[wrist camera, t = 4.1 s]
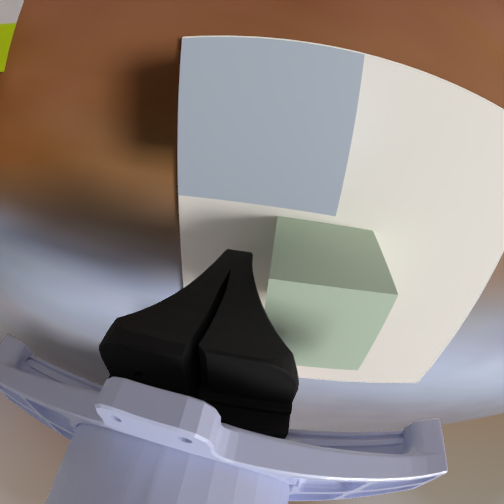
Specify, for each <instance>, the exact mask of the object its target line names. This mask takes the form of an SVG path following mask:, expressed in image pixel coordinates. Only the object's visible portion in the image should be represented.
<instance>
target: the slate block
mask: <svg viewBox="0 0 504 504" xmlns="http://www.w3.org/2000/svg"><path fill="white" fill-rule="evenodd" d="M363 63H364V54H360V53H356V52H351V51H347V50H342V49H337V48H332V47H327V46H321V45H315V44H309V43H302V42H294V41H286V40H276V39H264V38H247V37H194V38H182V46H181V60H180V76H179V99H178V195H182V196H192V197H201V198H210V199H218V200H226V201H234V202H242V203H250V204H257V205H265V206H272V207H279V208H286V209H292V210H299V211H306V212H312V213H318V214H324V215H330V216H336V213H337V209H338V204H339V200H340V195H341V191H342V186H343V181H344V177H345V172H346V167H347V162H348V157H349V152H350V147H351V141H352V136H353V130H354V124H355V118H356V112H357V106H358V100H359V93H360V86H361V79H362V71H363Z"/></svg>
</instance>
